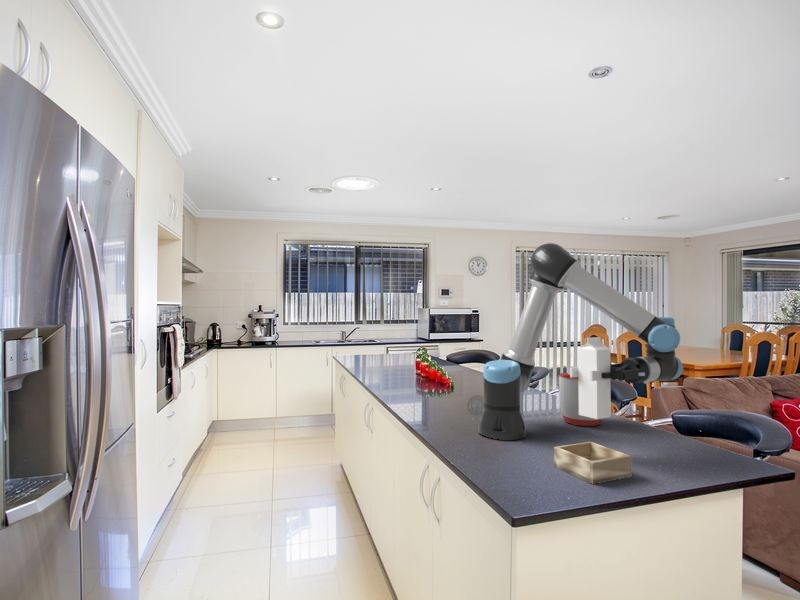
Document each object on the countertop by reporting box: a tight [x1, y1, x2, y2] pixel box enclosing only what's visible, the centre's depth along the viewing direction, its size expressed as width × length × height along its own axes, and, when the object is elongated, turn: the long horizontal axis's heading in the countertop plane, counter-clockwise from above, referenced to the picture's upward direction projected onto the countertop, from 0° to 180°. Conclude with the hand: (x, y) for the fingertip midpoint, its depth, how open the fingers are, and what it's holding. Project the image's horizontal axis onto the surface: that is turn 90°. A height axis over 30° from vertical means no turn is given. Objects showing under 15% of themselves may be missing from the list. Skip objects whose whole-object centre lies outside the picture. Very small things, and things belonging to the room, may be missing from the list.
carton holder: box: [553, 441, 632, 485], centre depth 109 cm, size 13×13×5 cm
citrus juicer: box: [558, 372, 602, 427], centre depth 158 cm, size 16×17×20 cm
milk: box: [577, 336, 612, 420], centre depth 122 cm, size 6×6×22 cm
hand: (581, 374), depth 120 cm, fingers closed on milk, 6 cm apart
